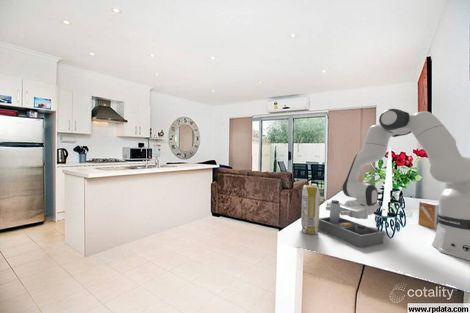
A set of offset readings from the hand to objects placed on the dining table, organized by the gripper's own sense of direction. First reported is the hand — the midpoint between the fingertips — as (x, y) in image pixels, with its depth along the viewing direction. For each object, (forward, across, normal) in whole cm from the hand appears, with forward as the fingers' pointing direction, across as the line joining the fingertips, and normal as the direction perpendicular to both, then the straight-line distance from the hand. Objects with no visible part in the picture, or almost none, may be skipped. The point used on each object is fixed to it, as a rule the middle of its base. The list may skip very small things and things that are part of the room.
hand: (333, 210), depth 115 cm
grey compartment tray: (-1, +8, +10) cm, 13 cm away
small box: (-58, +13, +10) cm, 60 cm away
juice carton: (+13, -2, +10) cm, 17 cm away
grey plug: (-1, 0, +8) cm, 8 cm away
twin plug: (-1, +15, +8) cm, 17 cm away
